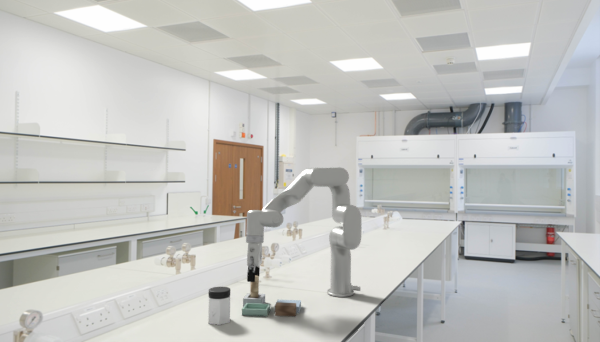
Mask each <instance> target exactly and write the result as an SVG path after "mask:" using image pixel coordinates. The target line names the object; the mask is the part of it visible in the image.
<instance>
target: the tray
mask: <svg viewBox="0 0 600 342" xmlns="http://www.w3.org/2000/svg"><path fill="white" fill-rule="evenodd" d="M270 312H271V303H264V304H260V303H246V304H245V306H244V307H243V306H242V308H241V316H244V315H246V316H251V317H268V315H269V313H270ZM246 316H245V317H246Z"/></svg>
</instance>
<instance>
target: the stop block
mask: <svg viewBox="0 0 600 342" xmlns="http://www.w3.org/2000/svg"><path fill="white" fill-rule="evenodd" d="M276 302H277V301H276ZM276 302H275V304H276V305H275V304H274V306H275V312H274V316H276V317H279V316H280V317H281V316H282V317H296V316H297V313H296V303H281V302H277V303H276Z"/></svg>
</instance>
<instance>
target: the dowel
mask: <svg viewBox="0 0 600 342" xmlns="http://www.w3.org/2000/svg"><path fill="white" fill-rule="evenodd" d="M259 277H260V275H259V276H256V275H255V282H249V283H250V285H249V287H250V290H249V293H250V298H258V294H260V293H259V292H260V291H259V288H260V287H259V286H260V285H259V284H260V283H259V282H260V281H259Z"/></svg>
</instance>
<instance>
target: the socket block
mask: <svg viewBox="0 0 600 342" xmlns="http://www.w3.org/2000/svg"><path fill="white" fill-rule="evenodd" d="M246 303H260V304H266V293H259V294H258V298H250V292H249V293H246V294H245V296H244V297H243V298H242V308H243V307H244V306H245V304H246Z"/></svg>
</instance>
